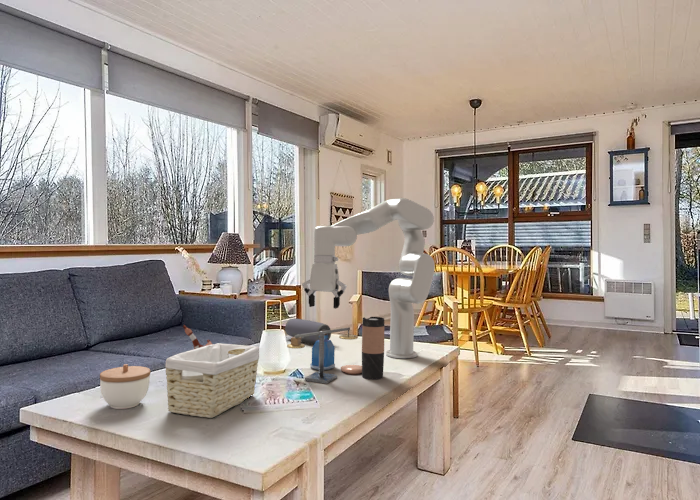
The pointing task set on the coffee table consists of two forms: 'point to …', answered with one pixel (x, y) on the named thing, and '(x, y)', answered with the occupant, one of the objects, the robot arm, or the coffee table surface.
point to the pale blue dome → (324, 367)
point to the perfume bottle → (328, 352)
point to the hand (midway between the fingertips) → (323, 307)
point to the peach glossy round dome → (352, 369)
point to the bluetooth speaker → (305, 329)
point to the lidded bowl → (124, 385)
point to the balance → (320, 353)
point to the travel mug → (372, 348)
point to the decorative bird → (194, 339)
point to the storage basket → (211, 379)
